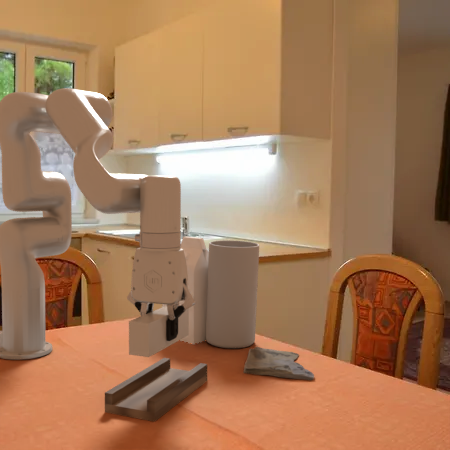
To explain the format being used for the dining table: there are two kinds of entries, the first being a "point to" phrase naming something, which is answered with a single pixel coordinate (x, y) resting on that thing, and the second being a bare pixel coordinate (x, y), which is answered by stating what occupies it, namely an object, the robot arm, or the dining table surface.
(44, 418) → the dining table surface
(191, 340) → the milk
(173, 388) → the brown long channel piece
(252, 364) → the fossil rock
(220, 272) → the cylinder vase
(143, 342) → the beige rectangular block
